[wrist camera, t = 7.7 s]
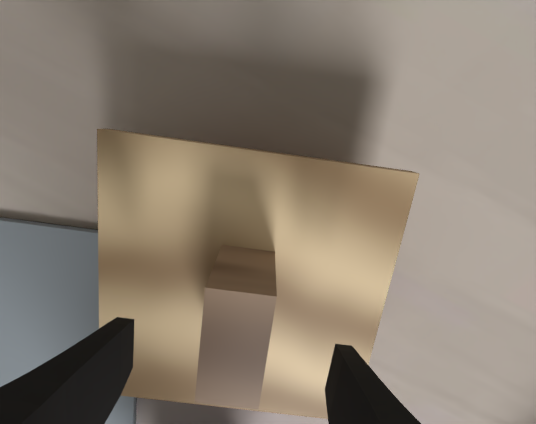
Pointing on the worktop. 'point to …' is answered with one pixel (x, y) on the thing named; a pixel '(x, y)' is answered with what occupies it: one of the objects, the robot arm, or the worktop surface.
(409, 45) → the worktop surface
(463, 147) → the worktop surface
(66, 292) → the shallow square tray
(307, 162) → the cover board
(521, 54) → the worktop surface
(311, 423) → the worktop surface
